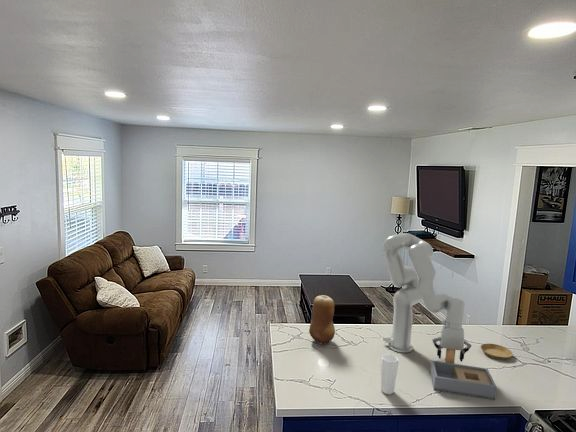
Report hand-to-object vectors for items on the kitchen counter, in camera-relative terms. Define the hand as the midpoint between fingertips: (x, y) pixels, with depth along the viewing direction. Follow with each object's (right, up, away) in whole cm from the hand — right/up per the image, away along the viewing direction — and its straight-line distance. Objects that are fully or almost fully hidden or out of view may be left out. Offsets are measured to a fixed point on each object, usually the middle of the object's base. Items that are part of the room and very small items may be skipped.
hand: (450, 358), depth 189 cm
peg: (0, -4, +1) cm, 4 cm away
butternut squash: (-60, +1, +22) cm, 64 cm away
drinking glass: (-35, -6, -22) cm, 42 cm away
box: (-1, -6, -15) cm, 16 cm away
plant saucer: (+30, -4, +16) cm, 34 cm away
